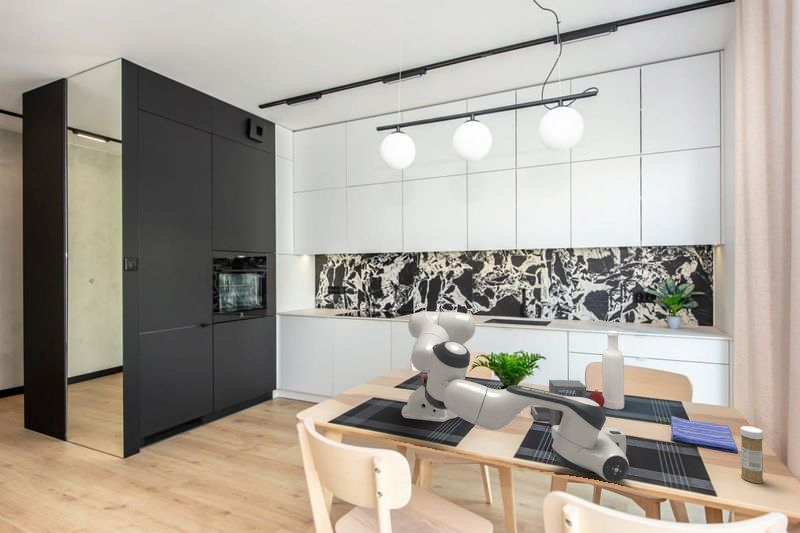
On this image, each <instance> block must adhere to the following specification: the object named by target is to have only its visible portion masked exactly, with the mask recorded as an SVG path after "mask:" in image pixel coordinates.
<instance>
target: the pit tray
mask: <svg viewBox="0 0 800 533" xmlns="http://www.w3.org/2000/svg"><path fill="white" fill-rule="evenodd" d="M530 414H531V415H532V418H533V419H534V421H535V422H549V408H546V407H542V406H537V405H531V406H530ZM558 421H559V410H558Z"/></svg>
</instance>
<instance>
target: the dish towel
mask: <svg viewBox="0 0 800 533" xmlns="http://www.w3.org/2000/svg"><path fill="white" fill-rule="evenodd" d="M670 420H671V422H670V426H671V434H670V440H671V442H674V443H677V444H684V445H689V446H695V447H699V448H704V449H711V450H716V451H720V452H724V453H725V452H726V453H732V454H737V453H738V447H737V445H736V442H735V439H734V437H733V434H732V432H731V429H730V427H729V425H727V424H726V425H725V424H718V423H713V422H712V423H709V422H704V421H698V420H697V421H696V420H690V419H689V420H688V419H686V418H682V417H677V416H674V415H671V419H670Z"/></svg>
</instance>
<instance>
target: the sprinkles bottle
mask: <svg viewBox="0 0 800 533" xmlns="http://www.w3.org/2000/svg"><path fill="white" fill-rule="evenodd" d="M739 433H740V436H741V446H740V447H741V448H740V450H741V451H740V453H741V454H740V456H741V458H740V460H741V461H740V464H741V474H740V476H741V478H742V480H744V481H746V482H749V483H753V484H762V483H763V482H764V479H763V477H764V476H763V475H764V474H763V469H764V460H763V459H764V458H763V439H764V432H763V430H762V429H760V428H758V427H754V426H747V425H746V426H745V425H744V426H741V427H740V432H739Z"/></svg>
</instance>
